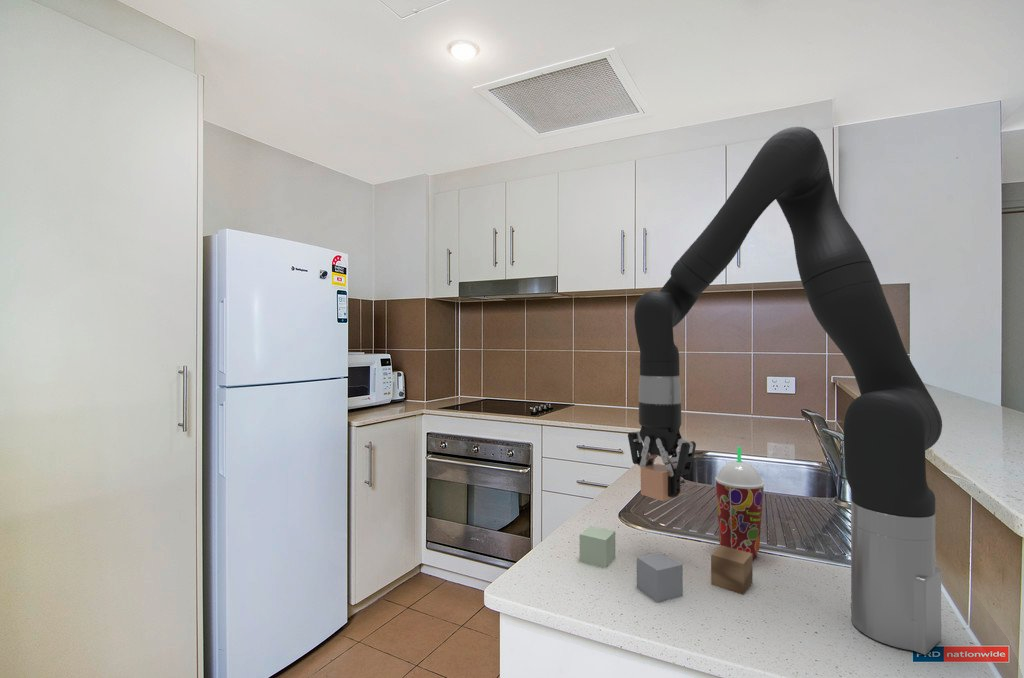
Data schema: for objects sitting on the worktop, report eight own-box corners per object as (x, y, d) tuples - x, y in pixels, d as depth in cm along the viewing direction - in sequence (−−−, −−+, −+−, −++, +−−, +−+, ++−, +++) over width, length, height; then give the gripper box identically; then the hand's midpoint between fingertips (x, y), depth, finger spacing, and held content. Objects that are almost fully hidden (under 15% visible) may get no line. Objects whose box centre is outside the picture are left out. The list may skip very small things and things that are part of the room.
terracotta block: (680, 496, 90) (680, 468, 90) (662, 501, 87) (662, 472, 87) (658, 489, 94) (658, 463, 94) (640, 494, 91) (640, 467, 91)
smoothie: (758, 567, 87) (758, 454, 87) (709, 554, 92) (709, 447, 92) (767, 551, 94) (768, 446, 94) (721, 540, 99) (721, 440, 99)
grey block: (682, 596, 78) (682, 564, 78) (657, 603, 75) (657, 570, 75) (661, 582, 82) (661, 552, 82) (636, 588, 80) (636, 557, 80)
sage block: (615, 557, 91) (615, 530, 91) (605, 568, 87) (605, 540, 87) (589, 551, 94) (590, 525, 94) (579, 561, 90) (579, 534, 90)
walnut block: (752, 583, 82) (752, 553, 82) (743, 595, 78) (743, 563, 78) (721, 574, 85) (721, 545, 85) (711, 585, 81) (711, 554, 81)
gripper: (706, 402, 87) (707, 499, 87) (643, 395, 99) (643, 480, 99) (679, 405, 83) (680, 507, 83) (616, 398, 95) (617, 486, 95)
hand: (660, 492), depth 91 cm, fingers closed on terracotta block, 5 cm apart
